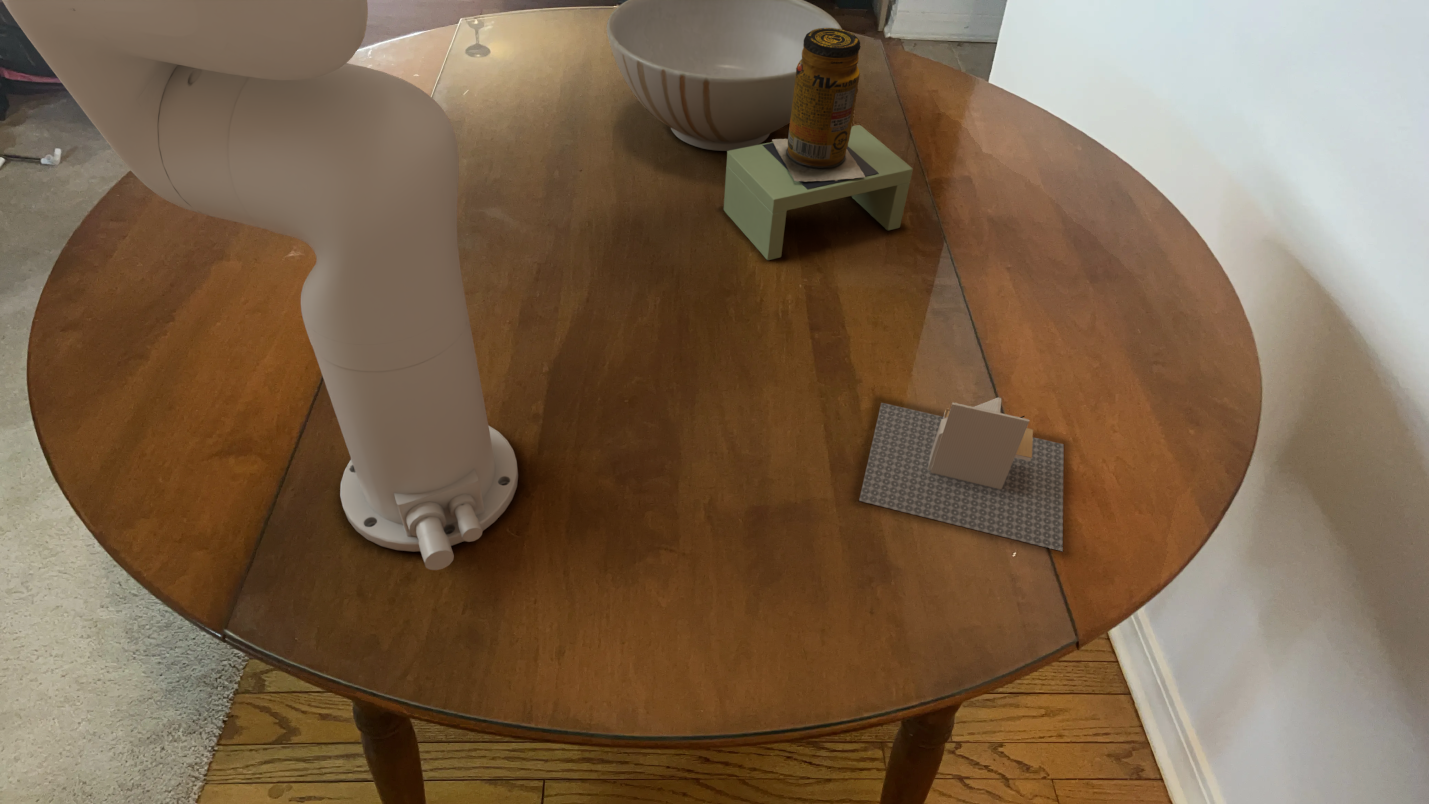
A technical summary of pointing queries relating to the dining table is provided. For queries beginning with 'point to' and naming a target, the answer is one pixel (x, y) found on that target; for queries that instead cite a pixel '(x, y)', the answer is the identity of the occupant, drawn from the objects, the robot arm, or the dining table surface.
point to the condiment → (823, 108)
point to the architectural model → (968, 471)
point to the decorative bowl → (714, 64)
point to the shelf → (810, 189)
